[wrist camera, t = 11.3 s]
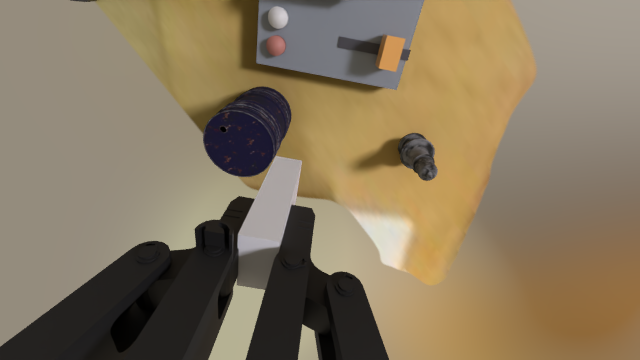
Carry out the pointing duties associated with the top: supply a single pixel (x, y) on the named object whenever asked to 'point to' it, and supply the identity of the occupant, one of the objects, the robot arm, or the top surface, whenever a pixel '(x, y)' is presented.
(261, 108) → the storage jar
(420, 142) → the chess piece
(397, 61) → the slider
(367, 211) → the top surface
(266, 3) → the panel
